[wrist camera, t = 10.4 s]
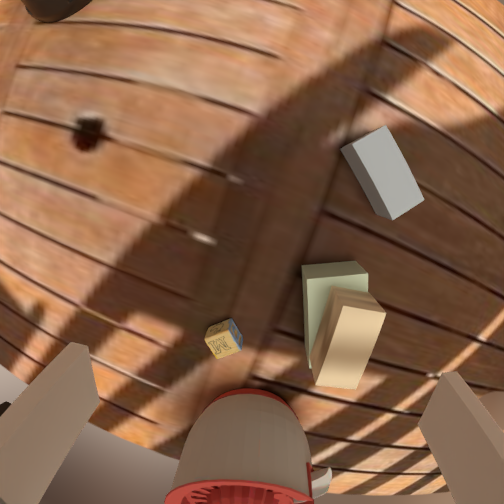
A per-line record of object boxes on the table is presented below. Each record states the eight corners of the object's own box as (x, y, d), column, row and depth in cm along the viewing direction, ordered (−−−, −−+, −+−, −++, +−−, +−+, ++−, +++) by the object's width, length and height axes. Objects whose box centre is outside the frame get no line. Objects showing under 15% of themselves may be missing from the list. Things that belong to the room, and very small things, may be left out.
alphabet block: (243, 338, 36) (241, 351, 33) (220, 347, 37) (216, 360, 34) (231, 317, 36) (228, 328, 33) (208, 326, 36) (203, 339, 33)
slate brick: (339, 149, 31) (351, 144, 26) (369, 132, 30) (385, 125, 25) (375, 214, 32) (392, 220, 27) (404, 196, 32) (424, 199, 27)
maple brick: (331, 285, 29) (343, 305, 24) (369, 292, 29) (386, 313, 24) (309, 356, 31) (315, 385, 26) (344, 361, 31) (355, 389, 26)
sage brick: (301, 264, 34) (306, 279, 29) (354, 260, 34) (368, 273, 29) (304, 345, 36) (309, 368, 31) (353, 339, 36) (364, 361, 31)
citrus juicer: (322, 443, 40) (339, 555, 20) (209, 454, 41) (187, 560, 22) (315, 363, 36) (343, 497, 17) (179, 378, 38) (129, 500, 19)
